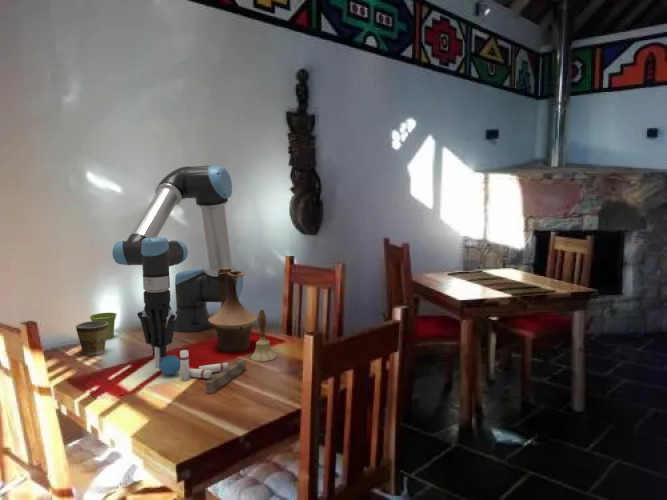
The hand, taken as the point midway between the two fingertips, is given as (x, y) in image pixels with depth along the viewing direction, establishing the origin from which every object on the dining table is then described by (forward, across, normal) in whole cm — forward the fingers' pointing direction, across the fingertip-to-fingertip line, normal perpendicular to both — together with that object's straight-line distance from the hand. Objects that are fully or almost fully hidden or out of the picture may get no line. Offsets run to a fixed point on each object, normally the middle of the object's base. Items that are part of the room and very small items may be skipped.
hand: (160, 366), depth 160 cm
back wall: (+2, +22, 0) cm, 22 cm away
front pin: (+1, +8, 0) cm, 8 cm away
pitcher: (+2, +9, +30) cm, 31 cm away
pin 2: (+1, +12, +3) cm, 12 cm away
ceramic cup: (+3, -36, +12) cm, 38 cm away
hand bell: (+2, +24, +22) cm, 33 cm away
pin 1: (+2, +10, -2) cm, 11 cm away
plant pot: (+2, -44, +28) cm, 52 cm away
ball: (-1, +4, 0) cm, 4 cm away
